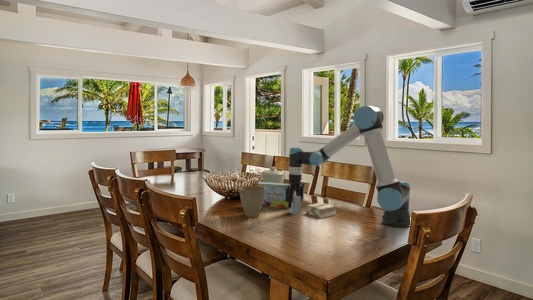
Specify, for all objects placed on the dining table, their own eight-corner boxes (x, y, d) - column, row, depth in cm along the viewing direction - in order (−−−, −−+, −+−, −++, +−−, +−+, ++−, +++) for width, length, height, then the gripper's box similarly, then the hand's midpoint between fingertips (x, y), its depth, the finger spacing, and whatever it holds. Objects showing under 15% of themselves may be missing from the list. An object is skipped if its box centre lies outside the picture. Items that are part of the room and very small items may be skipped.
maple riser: (335, 214, 201) (335, 206, 200) (321, 218, 193) (322, 209, 193) (320, 210, 210) (320, 202, 210) (306, 213, 203) (306, 205, 202)
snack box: (256, 206, 218) (256, 183, 217) (258, 204, 223) (259, 181, 222) (289, 209, 213) (290, 185, 212) (291, 206, 218) (291, 183, 217)
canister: (256, 196, 246) (257, 167, 244) (264, 192, 263) (265, 164, 261) (280, 198, 240) (281, 169, 238) (287, 193, 257) (288, 166, 256)
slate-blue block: (300, 213, 203) (300, 196, 202) (294, 214, 200) (294, 197, 199) (294, 211, 207) (294, 195, 206) (288, 212, 204) (288, 196, 203)
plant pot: (234, 214, 199) (235, 186, 198) (257, 211, 206) (258, 185, 205) (245, 220, 186) (245, 191, 185) (269, 217, 193) (269, 189, 192)
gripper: (301, 171, 210) (300, 208, 212) (279, 174, 199) (278, 213, 201) (310, 173, 204) (309, 211, 206) (288, 175, 193) (287, 216, 195)
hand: (294, 212), depth 204 cm, fingers closed on slate-blue block, 5 cm apart
